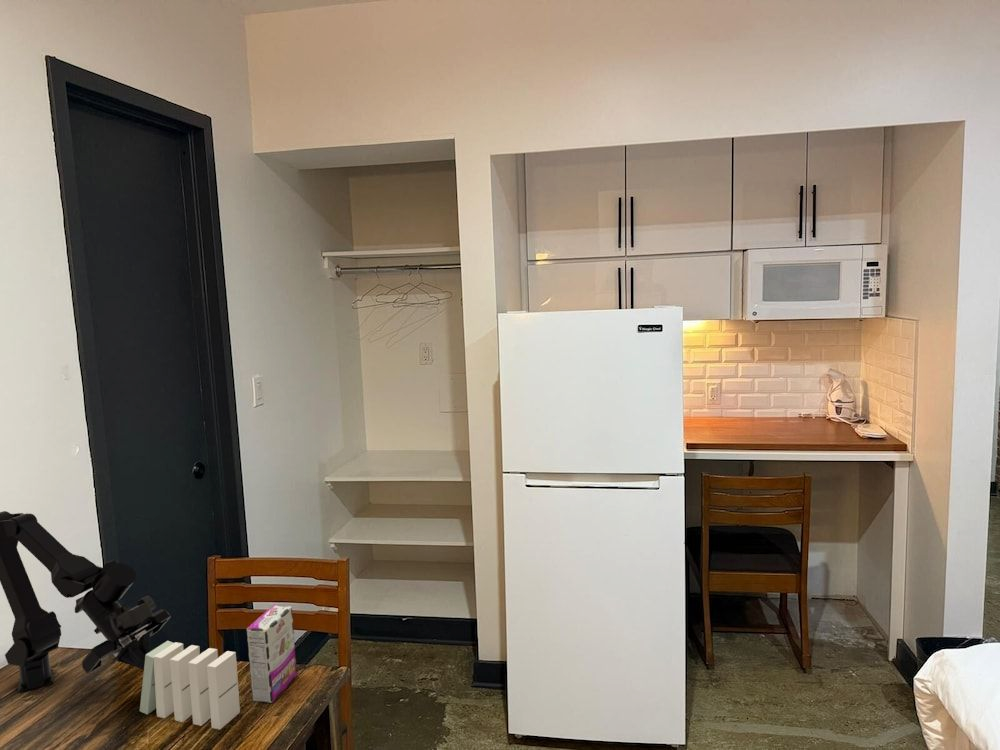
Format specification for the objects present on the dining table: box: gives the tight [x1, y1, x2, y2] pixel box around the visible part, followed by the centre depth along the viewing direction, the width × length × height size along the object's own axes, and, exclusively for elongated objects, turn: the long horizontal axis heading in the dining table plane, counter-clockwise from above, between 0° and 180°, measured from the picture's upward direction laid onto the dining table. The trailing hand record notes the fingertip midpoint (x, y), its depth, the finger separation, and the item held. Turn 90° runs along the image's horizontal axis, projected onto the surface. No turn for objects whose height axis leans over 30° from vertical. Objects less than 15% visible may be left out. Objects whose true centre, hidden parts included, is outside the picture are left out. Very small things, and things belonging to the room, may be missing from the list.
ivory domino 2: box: [170, 644, 201, 723], centre depth 144 cm, size 2×6×13 cm, turn 162°
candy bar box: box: [246, 604, 298, 704], centre depth 152 cm, size 11×5×16 cm, turn 168°
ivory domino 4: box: [207, 650, 241, 730], centre depth 141 cm, size 2×6×13 cm, turn 162°
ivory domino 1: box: [153, 641, 185, 719], centre depth 145 cm, size 2×6×13 cm, turn 162°
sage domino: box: [139, 640, 174, 715], centre depth 146 cm, size 2×6×13 cm, turn 163°
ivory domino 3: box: [188, 647, 219, 727], centre depth 142 cm, size 2×6×13 cm, turn 162°
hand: (153, 670), depth 146 cm, fingers closed
